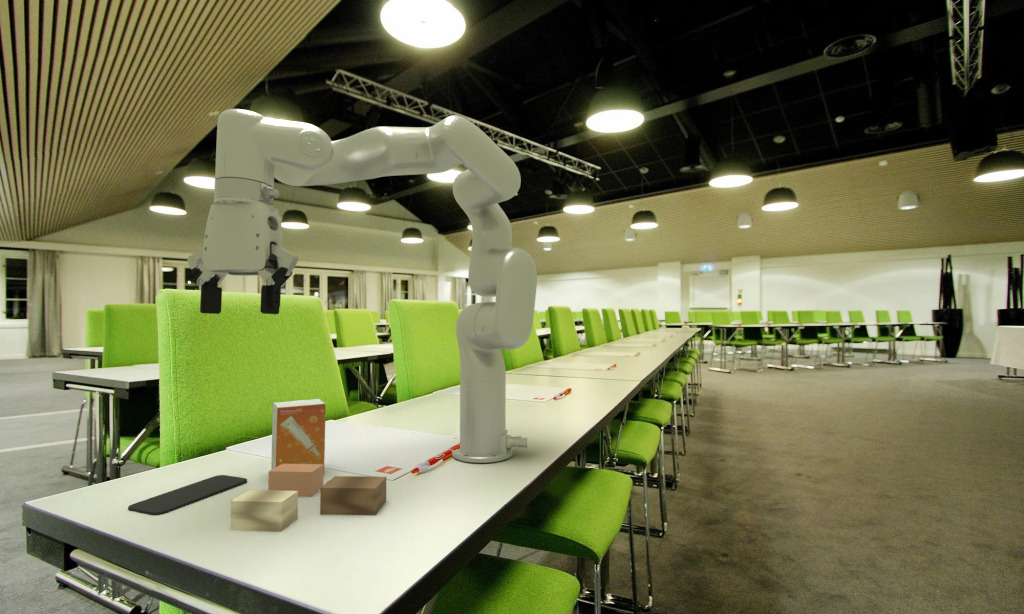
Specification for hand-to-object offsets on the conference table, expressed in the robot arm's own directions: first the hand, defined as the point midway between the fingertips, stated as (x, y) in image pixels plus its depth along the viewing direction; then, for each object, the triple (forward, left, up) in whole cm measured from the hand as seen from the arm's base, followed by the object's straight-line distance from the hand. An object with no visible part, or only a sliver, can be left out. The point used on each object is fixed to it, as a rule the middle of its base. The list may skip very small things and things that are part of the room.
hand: (240, 313), depth 67 cm
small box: (0, -17, -29) cm, 34 cm away
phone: (+12, -7, -29) cm, 32 cm away
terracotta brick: (-4, -9, -29) cm, 31 cm away
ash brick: (-6, +3, -29) cm, 30 cm away
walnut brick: (-16, -3, -29) cm, 33 cm away
